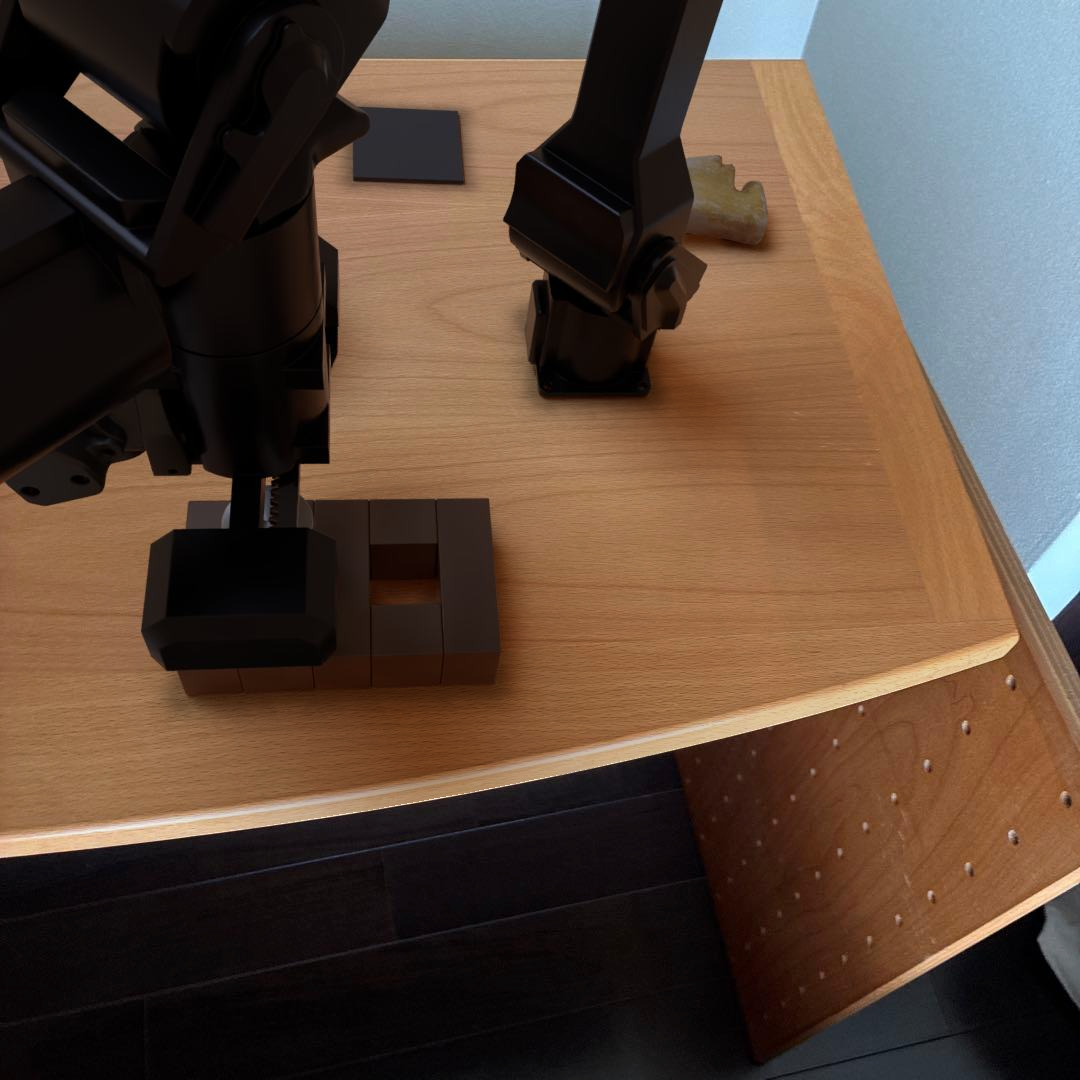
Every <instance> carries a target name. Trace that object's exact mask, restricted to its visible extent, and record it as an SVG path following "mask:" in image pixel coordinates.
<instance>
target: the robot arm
mask: <svg viewBox="0 0 1080 1080" xmlns="http://www.w3.org/2000/svg"><path fill="white" fill-rule="evenodd" d="M390 2H391V0H0V160H2V164H3V166H4V169H5V172H6V174H7V177H8V180H9V184H7V185H5V186H3V187H1V188H0V486H1V485H3V484H4V483H5V484H6V485H7V487H9V488H10V489H11V490H12V491H14V492H15V494H17V495H18V496H19V497H20V498H22V499H23V500H24V501H25V502H27V503H29V504H31V505H36V506H41V507H51V506H54V505H59V504H62V503H68V502H72V501H76V500H81V499H85V498H90V497H94V496H98V495H99V494H101V493H103V491H104V489H105V487H106V481H107V475H108V471H109V468H110V467H111V465H112V464H113V465H114V464H116V463H121V462H125V461H129V460H132V459H135V458H138V457H139V456H141V455H142V454H144V453H145V452H146V455H147V458H148V462H149V465H150V469H151V471H152V475H153V477H189V476H190V475H192V471H193V466H200V465H201V466H202V468H203V470H204V471H206V472H207V473H209V474H210V473H211V474H213V475H215V476H219V477H223V478H225V479H226V478H227V479H231V490H230V493H231V494H230V500H231V504H230V519H229V528H216V529H186V528H173V529H172V530H171V531H169V532H167V533H165V534H164V535H163V536H161V537H159V538H158V539H156V540H154V541H153V542H152V543H150V546H149V556H148V564H147V572H146V582H145V591H144V600H143V608H142V619H141V626H140V633H141V635H142V636H141V637H142V638H143V640H144V643H145V646H146V648H147V651H148V653H149V655H150V657H151V658H152V659H153V660H154V661H155V662H156V663H157V664H158V665H159V666H160V667H161V668H162V669H164V671H166V672H177V671H190V670H221V669H253V668H284V667H315V666H322V665H323V664H324V663H325V662H326V661H327V660H328V659H330V658H331V657H332V656H333V655H334V654H335V653H336V652H337V651H338V568H337V547H336V541H335V540H333V539H331V538H329V537H327V536H325V535H323V534H321V533H318V532H316V531H314V530H312V529H310V528H308V527H299V503H300V495H301V465H331V464H330V463H331V382H332V381H331V379H332V376H331V375H332V374H331V373H332V369H333V366H334V364H335V362H336V359H337V357H338V353H339V327H340V310H341V309H340V305H341V304H340V302H341V301H340V300H341V299H340V298H341V297H340V293H341V292H340V290H341V284H340V283H341V282H340V281H341V280H340V279H341V278H340V263H339V262H340V260H339V249H338V248H337V247H335V246H334V245H332V244H331V243H329V242H328V241H327V240H326V239H324V238H323V237H321V236H320V234H319V229H318V228H319V227H318V217H317V216H318V215H317V199H316V198H317V197H316V186H315V185H316V183H315V170H316V168H317V166H318V165H319V164H320V163H322V162H323V161H324V160H326V159H328V158H329V157H331V156H333V155H334V154H336V153H338V152H340V151H341V150H342V149H344V148H346V147H348V146H349V145H351V144H353V142H354V141H356V140H358V139H359V138H361V137H363V136H364V135H365V134H366V133H367V132H368V130H369V128H370V123H371V122H370V117H369V116H368V114H367V113H366V112H364V111H363V110H362V109H360V108H359V107H360V106H358V107H357V105H355V104H354V103H353V102H352V101H350V100H349V99H347V98H346V97H344V96H343V95H341V94H340V93H339V92H340V90H341V89H342V87H343V86H344V84H345V83H346V81H347V80H348V78H349V76H351V74H352V72H353V71H354V69H355V68H356V66H357V65H358V63H359V62H360V60H361V59H362V57H363V55H364V54H365V52H366V51H367V50H368V48H369V46H370V45H371V43H372V42H373V40H374V39H375V37H376V36H377V34H378V33H379V31H380V30H381V28H383V25H384V24H385V22H386V20H387V17H388V14H389V9H390V4H391V3H390ZM723 4H724V0H599V4H598V8H597V13H596V16H595V20H594V26H593V29H592V34H591V39H590V42H589V45H588V50H587V54H586V58H585V63H584V67H583V71H582V74H581V75H582V76H581V79H580V84H579V88H578V93H577V97H576V101H575V105H574V108H573V111H572V114H571V117H570V118H569V119H567V121H566V122H565V123H563V124H562V125H561V126H560V127H559V128H558V129H557V130H555V131H554V132H553V133H552V134H551V135H550V136H548V137H547V138H546V139H545V140H544V141H543V142H542V143H540V145H538V146H537V147H536V148H535V149H534V150H531V151H529V152H526V153H525V154H523V156H522V157H520V159H519V160H518V161H517V162H516V164H515V171H514V173H515V174H514V184H513V191H512V194H511V197H510V201H509V204H508V207H507V209H506V211H505V214H504V215H503V218H502V222H503V223H505V224H506V225H507V226H508V238H509V243H511V245H513V246H514V247H515V249H517V250H518V252H519V257H521V258H522V259H523V260H525V261H526V262H531V263H532V264H534V265H535V266H537V267H538V268H539V269H540V270H543V275H542V279H535V280H533V282H532V283H531V287H530V293H529V300H528V307H527V313H526V320H525V326H524V336H525V343H526V353H527V354H526V355H527V361H528V363H529V364H530V365H531V366H534V369H535V378H536V387H537V392H538V394H539V395H541V396H542V397H544V398H648V396H650V394H651V391H652V382H651V376H650V371H649V366H648V363H649V360H650V356H651V353H652V351H653V346H654V343H655V340H656V336H657V333H658V331H663V330H664V331H666V330H667V331H675V330H676V329H677V328H678V327H680V325H681V324H682V321H683V318H684V317H685V316H684V315H685V312H686V309H687V306H688V303H689V301H690V300H691V299H692V298H693V297H694V295H695V294H696V293H697V292H698V291H699V289H700V287H701V284H700V283H701V281H702V279H703V277H704V274H705V273H706V271H707V268H708V264H707V263H706V262H704V261H703V260H702V259H700V258H699V257H698V256H697V255H695V254H694V253H692V252H691V251H689V250H688V249H687V248H686V247H684V246H683V243H684V240H685V235H686V233H685V232H686V228H687V225H688V221H689V217H690V213H691V209H692V205H693V202H694V192H693V187H692V183H691V179H690V175H689V171H688V166H687V162H686V158H687V157H686V154H685V150H684V146H683V143H682V142H683V141H682V137H681V134H682V129H683V125H684V123H685V119H686V117H687V113H688V110H689V108H690V104H691V101H692V98H693V95H694V92H695V89H696V87H697V83H698V80H699V77H700V75H701V70H702V68H703V65H704V62H705V58H706V55H707V52H708V49H709V46H710V43H711V41H712V37H713V34H714V30H715V28H716V25H717V22H718V18H719V15H720V12H721V9H722V6H723ZM80 74H82V75H83V76H84V77H86V78H87V79H89V80H90V81H91V82H92V83H94V84H95V85H97V86H98V87H99V88H101V89H102V90H103V91H104V92H106V93H107V94H109V95H110V96H111V97H112V98H114V99H115V100H117V101H118V103H121V104H122V105H123V106H125V108H127V109H129V110H130V111H131V112H133V113H134V114H135V115H137V116H138V117H139V118H141V119H140V120H139V121H138V122H137V123H136V124H134V127H133V131H131V132H130V133H129V134H128V135H127V136H125V137H124V139H123V140H121V139H120V138H119V137H118V136H116V135H114V133H113V132H111V131H110V130H108V129H107V128H106V127H104V126H103V125H102V124H100V123H99V122H98V121H96V120H95V119H94V118H93V117H91V116H90V115H88V114H87V113H86V112H85V111H83V110H82V109H80V108H79V106H77V105H76V104H74V103H73V102H72V101H70V100H69V99H68V98H66V97H65V96H66V94H67V93H68V92H69V90H70V88H71V87H72V86H73V84H75V81H76V80H77V79H78V77H79V75H80ZM642 388H643V389H642ZM268 478H271V479H272V480H270V485H271V487H272V488H274V489H271V497H274V498H271V499H270V504H271V506H273V507H271V508H270V515H272V517H269V521H270V525H273V526H269V528H264V507H265V487H266V485H267V479H268Z"/></svg>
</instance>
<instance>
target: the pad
mask: <svg viewBox="0 0 1080 1080" xmlns="http://www.w3.org/2000/svg"><path fill="white" fill-rule="evenodd" d="M356 106H357V105H356ZM357 107H359V108H360V109H362V110H363V111H364V112H366V113H367V114H368V116H369V117H370V122H371V123H370V128H369V130H368V132H367V133H366V134H365V135H364V136H363V137H361V138H359V139H358V140H356V141H354V142H353V143H352V180H353V181H357V182H359V181H360V182H361V181H362V182H386V183H387V182H389V183H390V182H392V183H419V184H420V183H421V184H449V185H464V179H465V178H464V169H463V157H462V145H461V142H462V141H461V129H460V121H459V111H458V110H451V109H450V110H447V109H428V108H427V109H425V108H424V109H423V108H403V107H402V108H401V107H399V108H398V107H382V106H381V107H380V106H379V107H376V106H359V105H358V106H357Z"/></svg>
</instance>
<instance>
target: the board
mask: <svg viewBox="0 0 1080 1080" xmlns="http://www.w3.org/2000/svg"><path fill="white" fill-rule="evenodd" d="M305 500H306V501H307V503H308V504H309V506H310V507H311V510H312V513H313V517H314V527H315V531H316V532H318V533H321V534H323V535H325V536H327V537H329V538H331V539H333V540H335V541H336V547H337V568H338V651H337V652H336V653H335V654H334V655H333V656H332V657H331V658H330V659H328V660H327V661H326V662H325V663H324V664H323V665H322V666H315V667H284V668H253V669H221V670H190V671H176V672H177V675H178V677H179V680H180V683H181V686H182V689H183V691H184V694H185V695H186V696H188V695H189V696H193V695H194V696H195V695H221V694H223V695H224V694H225V695H226V694H243V693H244V694H260V693H263V694H265V693H289V692H314V691H339V690H342V691H343V690H368V689H397V688H398V689H399V688H426V687H427V688H429V687H463V686H491V685H496V681H497V676H498V671H499V666H500V661H501V656H502V641H501V627H500V614H499V603H498V602H499V601H498V589H497V579H496V565H495V554H494V553H495V552H494V541H493V540H494V539H493V529H492V516H491V515H492V514H491V503H490V498H489V497H465V498H464V497H453V498H452V497H451V498H450V497H449V498H448V497H447V498H446V497H443V498H371V499H368V498H365V499H364V498H360V499H359V498H357V499H356V498H354V499H351V498H350V499H348V498H347V499H344V498H343V499H305ZM230 502H231V499H230V500H189V501H188V502H187V508H186V509H187V510H186V521H185V529H216V528H221V520H222V516H223V513H224V511H225V509H226V507H227V506H228V504H229V503H230ZM434 580H435V597H436V598H435V600H436V602H435V603H409V604H407V603H405V604H401V603H399V604H371V603H372V602H371V601H372V600H371V599H372V598H371V595H372V594H371V593H372V592H371V586H372V585H371V582H391V581H392V582H393V581H394V582H395V581H398V582H399V581H434Z"/></svg>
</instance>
